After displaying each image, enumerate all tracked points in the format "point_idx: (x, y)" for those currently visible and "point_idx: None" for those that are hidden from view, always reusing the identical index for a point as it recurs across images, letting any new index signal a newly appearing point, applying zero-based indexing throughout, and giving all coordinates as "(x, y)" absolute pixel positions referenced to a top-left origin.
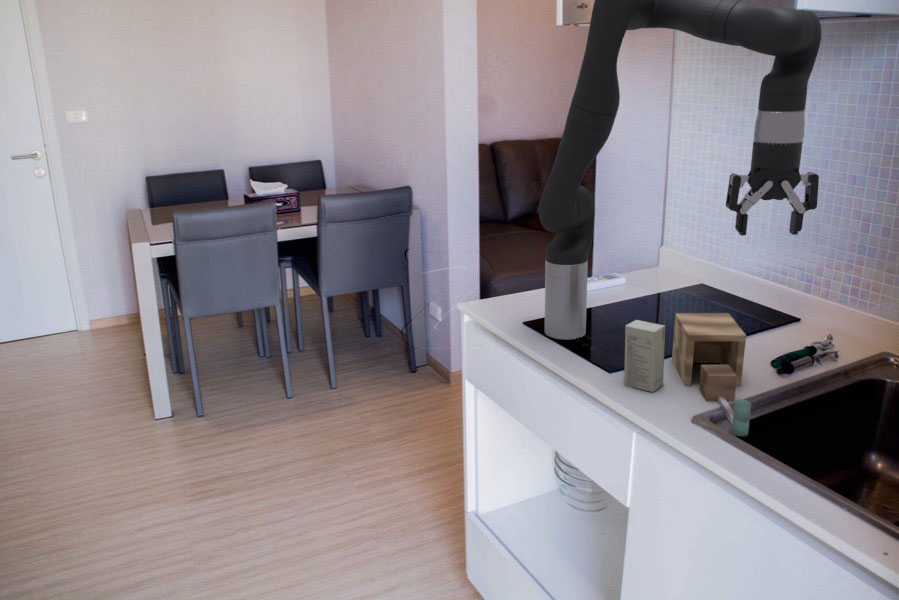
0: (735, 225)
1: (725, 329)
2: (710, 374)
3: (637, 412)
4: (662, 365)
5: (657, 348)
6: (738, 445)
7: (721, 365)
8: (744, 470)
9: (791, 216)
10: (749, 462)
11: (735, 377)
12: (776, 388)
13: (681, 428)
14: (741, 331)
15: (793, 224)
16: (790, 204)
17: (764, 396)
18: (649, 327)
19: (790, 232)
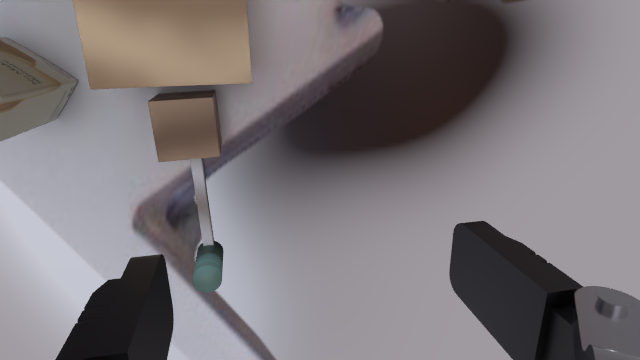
0: (87, 303)
1: (203, 38)
2: (164, 153)
3: (28, 204)
4: (53, 93)
5: (11, 127)
6: None
7: (195, 102)
8: (198, 345)
9: (518, 279)
10: (209, 326)
11: (217, 156)
12: (313, 80)
13: (114, 250)
14: (245, 53)
15: (483, 301)
16: (577, 340)
17: (282, 117)
18: None
19: (455, 239)
